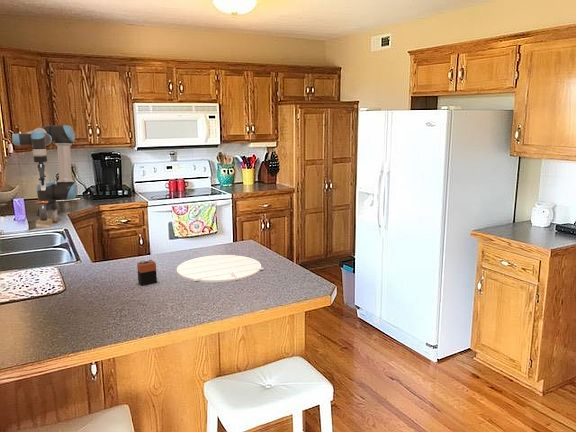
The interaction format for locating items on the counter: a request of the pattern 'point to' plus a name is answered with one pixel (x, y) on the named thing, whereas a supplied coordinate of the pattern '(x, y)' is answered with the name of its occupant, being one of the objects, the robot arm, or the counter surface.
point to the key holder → (43, 223)
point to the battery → (147, 272)
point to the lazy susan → (219, 268)
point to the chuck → (53, 216)
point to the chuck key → (42, 210)
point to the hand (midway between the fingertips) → (43, 188)
